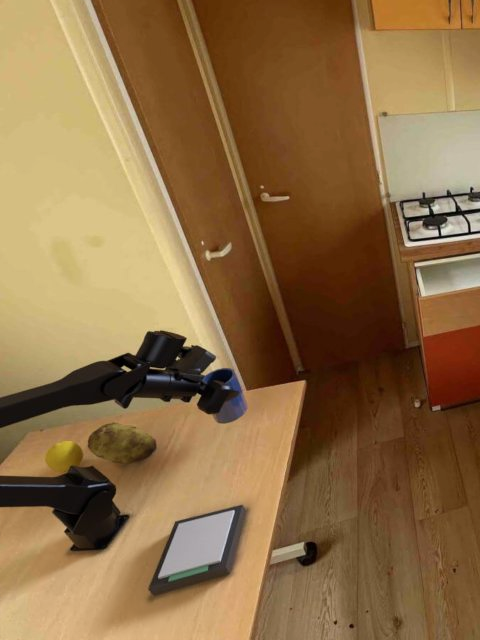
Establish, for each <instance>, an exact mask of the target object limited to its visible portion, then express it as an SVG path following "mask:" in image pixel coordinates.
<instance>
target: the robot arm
mask: <svg viewBox="0 0 480 640" xmlns="http://www.w3.org/2000/svg"><path fill="white" fill-rule="evenodd" d="M187 340H188V338H187V337H186V336H184V335H182V334H179V333H175V332H172V331H168V330H162V329H160V330H154V331H152V330H148V331H146V333H145V335H144V337H143V340H142V343H141V344H140V346H139V348H138V350H137V352H136V353H135V354H132V353H131V352H125V353H123V354H120V355H117V356H116V357H113V358H110V359H108V360H98V361H95V362H92V363H89V364H87V365H84V366H82V367H79V368H77V369H75V370H73V371H71V372H70V373H68V374H66V375H65V376H63V377H62V378H60V379H58V380H55V381H52V382H50V383H46V384H44V385H40V386H35V387H32V388H28V389H25V390H21V391H18V392H14V393H11V394H7V395H4V396H1V397H0V429H3V428H6V427H9V426H12V425H15V424H19V423H21V422H24V421H27V420H31V419H33V418H36V417H39V416H42V415H46V414H49V413H51V412H55V411H58V410H60V409H64V408H67V407H68V408H69V407H75V406H76V407H77V406H92V405H97V404H101V403H105V402H110V401H114V403H115V404H116V405H118V406H119V407H120V408H122V409H124V410H126V409H128V408H129V406H130V405H131V403H132V401H133V400H134V399H135V398H136V399H159V400H161V401H162V402H164V403H170V402H171V401H172V400H180V401H181V402H183V403H185V404H186V403H190V402H191V400H192V398H195V397H196V396H197V394H198V395H200V397H199V399H198V401H197V402H196V406H197V408H198V410H200V411H202V412H203V413H205V414H206V415H212V414H218V413H219V412H220V410H221V408H222V406H223V404H224V402H226V401H228V400H230V399H233V398H235V397H237V396H238V395H239V393H240V392H239V391H237V390H233V389H230V386H229V385H227V384H226V383H224V382H222V381H220V380H218V381H214V380H213V381H211V382H210V383H208V384H207V383H205V382H204V381H202V380H203V378H204V376H205V374H203V373H204V372H205V371H206V370H207V369H208V368H209V367H210V365H211V364H213V363H214V362H215V361H216V359H217V355H215V354H214V353H212V352H211V351H209V350H208V349H206V348H204V347H202V346H200V345H197V344H195V345H194V344H191V345H190V346H189V345H188V346H186V345H185V343H186V341H187ZM123 367H125V368H127V369H129V370H126V369H124V368H123ZM116 494H117V485H116V484H115V483H114V482H112V481H111V479H110V478H109V477H107V476H106V475H105V474H104V473H102V471H100V470H99V469H98V468H96V466H94V465H89V466H79V465H77V466H74V465H71V466H70V468H69V470H68V471H66V472H64V473H63V474H60V475H57V476H29V475H27V476H26V475H0V508H39V507H40V508H41V507H42V508H45V507H47V508H51V509H52V511H51V513H52V514H53V515H54V516H55V517H56V518H57V519H58V520H59V522H61V523H62V524H63V525H64V526H65V527H66V528H65V529H64V531H63V533H64V534H65V535H66V536H67V537H68V539H69V540H70V541H71V542H72V543H73V544H72V545H71V547H70V548H69V551H70V552H72V553H73V552H90V551H91V552H92V551H93V552H94V551H105V550H106V549H107V548H108V547H109V546H110V544H111V543H112V541H113V540H114V539H115V538H116V536H117V534H118V533H119V532H120V530H121V529H122V528H123V527H124V526H125V524H126V523H127V521H128V520H129V518H130V515H129V514H122V512H121V510H120V508H119V507H118V506H117V505H116V503H115V502H114V501H113V500H114V498H115V496H116Z"/></svg>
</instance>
